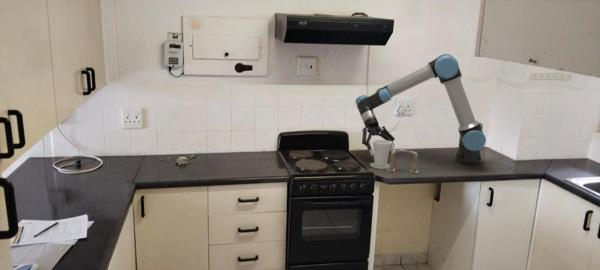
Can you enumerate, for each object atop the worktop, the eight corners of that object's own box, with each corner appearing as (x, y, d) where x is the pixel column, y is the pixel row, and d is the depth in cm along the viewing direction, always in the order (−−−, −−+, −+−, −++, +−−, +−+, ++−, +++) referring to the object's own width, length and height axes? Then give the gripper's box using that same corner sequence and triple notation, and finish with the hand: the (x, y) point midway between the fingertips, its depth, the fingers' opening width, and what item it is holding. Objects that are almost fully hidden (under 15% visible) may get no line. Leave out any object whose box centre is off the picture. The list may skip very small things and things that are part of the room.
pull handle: (415, 169, 264) (417, 150, 261) (418, 173, 257) (420, 153, 254) (386, 167, 265) (388, 148, 262) (388, 171, 258) (389, 151, 255)
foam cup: (390, 167, 263) (392, 144, 260) (372, 167, 263) (374, 143, 260) (387, 162, 272) (389, 139, 269) (370, 161, 272) (372, 139, 269)
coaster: (389, 163, 273) (389, 162, 273) (391, 169, 262) (391, 168, 262) (369, 162, 274) (369, 161, 273) (370, 168, 263) (370, 167, 263)
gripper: (385, 123, 282) (399, 155, 272) (348, 125, 271) (361, 158, 262) (391, 115, 276) (405, 148, 267) (353, 118, 265) (367, 151, 256)
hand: (383, 153), depth 264 cm, fingers open, 13 cm apart
